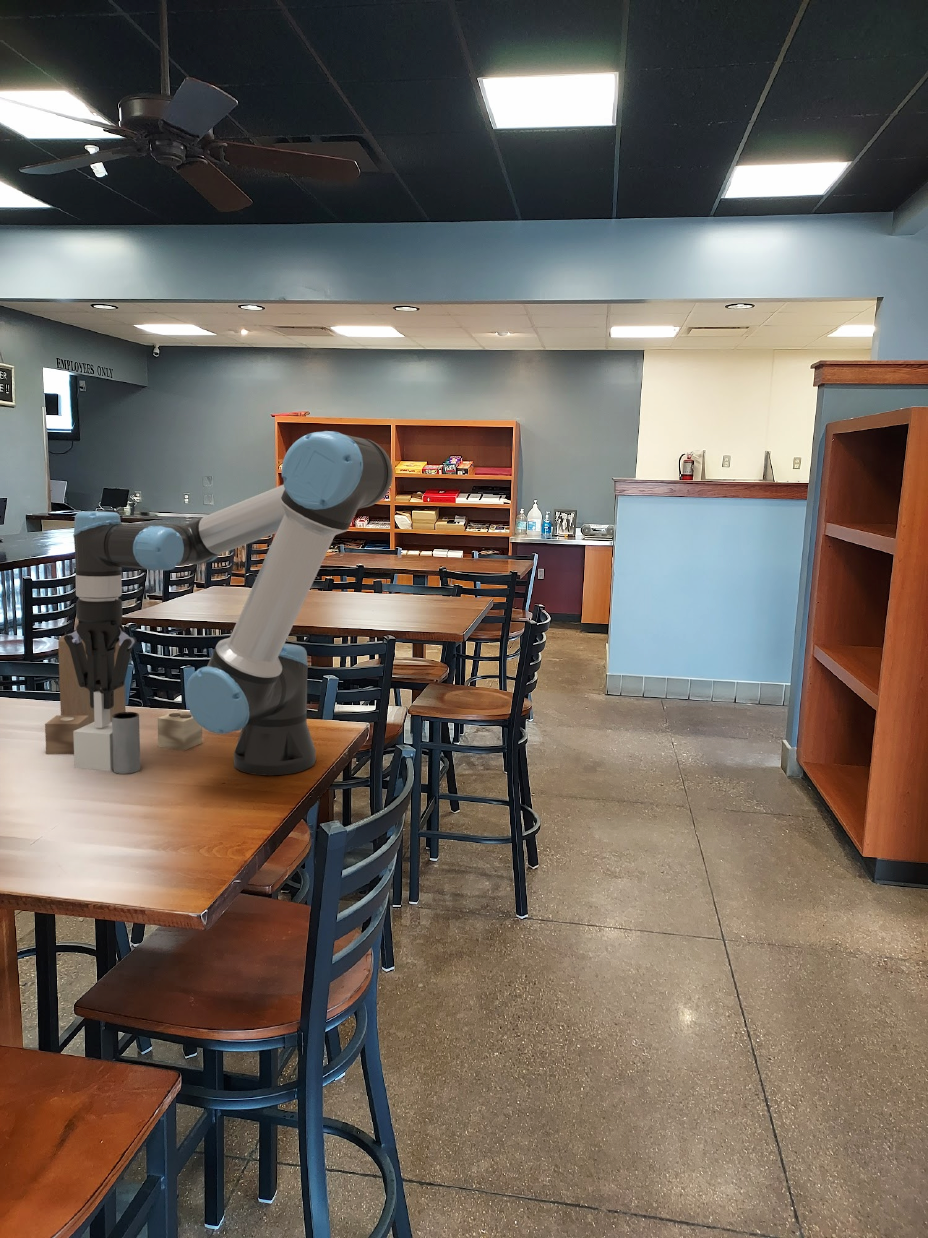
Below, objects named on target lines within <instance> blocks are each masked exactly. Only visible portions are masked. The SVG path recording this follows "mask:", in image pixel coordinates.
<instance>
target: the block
mask: <svg viewBox="0 0 928 1238" xmlns="http://www.w3.org/2000/svg"><path fill="white" fill-rule="evenodd" d="M72 633H73V632H70V633H68V634H65V635H62V636H59V638H58V640H57V644H58V672H59V673H58V674H59V675H58V676H59V699H60V715H70V716H89V724H90V723H93V722H94V708H91V706H90V691H89V690H88V689H87V688H85V687H80V686H79V683H78V679H77V676H76V672H75V668H74V664H73V660H72V656H71V652H70V648H69V647H68V645H67V643H66V642H65V640H64V636H66V635H69V634H72ZM119 642H120V639H119V641H118V642H117V644H116V651H115V653H114V666H115V663H116V659H117V654H118V650H119V648H120V646H119ZM82 643H83V646H84V649H85V643H84V642H83V640H82ZM85 653H86V652H85ZM86 657H87V654H86ZM100 689H101V688H100ZM121 712H127V711H126V682H125V683H124V686H122V687H120V688H118V689H115V690H114V706H113V707H112V708H110V722H112V715H114V714H116V713H121Z"/></svg>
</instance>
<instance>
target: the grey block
mask: <svg viewBox="0 0 928 1238" xmlns="http://www.w3.org/2000/svg"><path fill="white" fill-rule="evenodd" d="M73 736H74V754H73V760H74V761H73V762H74V769H81V770H89V771H91V770H92V771H103V772H113V742H112V722H110V724H109V725H107V726H105V727H103V728H100V727H95V723H94V722H93V723H90V724H88V725H86V726H84V727H82V728H79V729H77V730H75V731H73Z"/></svg>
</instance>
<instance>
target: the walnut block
mask: <svg viewBox="0 0 928 1238" xmlns="http://www.w3.org/2000/svg"><path fill="white" fill-rule="evenodd" d="M88 724H89V716H70V715H61V714H60V715H59V714H58V715H55V716H54V717H52V718H51V719H50V720H48V721H47V722H45V723H44V730H45V731H44V732H45V733H44V735H45V737H44V738H45V755H74V736H73V731H75V730H77V729H79V728H82V727H84V726H86V725H88Z"/></svg>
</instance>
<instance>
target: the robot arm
mask: <svg viewBox="0 0 928 1238" xmlns="http://www.w3.org/2000/svg"><path fill="white" fill-rule="evenodd" d="M393 475H394V470H393V465H392V462H391V459H390V457H389V455H388V454H387V452H386V451H385V450H384V449H383V448H382V446H381V445H379V443H376V442H375V441H373V440H371V439H369V438H365V437H358V436H351V435H347V434H343V433H341V432H339V431H328V430H324V431H316V432H315V431H314V432H311V433H307V434H306V435H303V436H301V437H300V438H299V439H297V440H295V442H293V443H292V445H291V446H290V447H289V448H288V450H287V452H285V455H284V457H283V461H282V466H281V478H282V479H283V483H282V484H281V485H278V486H277V487H276V486H275V487H274V488H271V489H269V490H267V491H264V492H262V493H259V494H256V495H254V496H252V497H249V498H247V499H245V500H244V499H243V500H242V501H240V502H237V503H235V504H232V505H229V506H227V507H225V508H222V509H220V510H217V511H214V512H212V513H210V514H207V515H204V516H203V517H200V518H198V519H195V520H192V521H190V522H187V523H185V524H159V525H157V524H156V525H139V524H137V525H135V524H134V525H133V524H131V525H130V524H122V522H121V516H120V513H118V512H113V511H94V510H93V511H92V510H91V511H86V510H85V511H79V512H77V513H76V514H75V516H74V529H73V536H72V537H73V539H74V542H73V543H74V556H75V557H74V558H75V559H74V561H75V596H76V597H78V599H77V601H76V605H75V606H76V608H75V609H76V619H77V621H78V623H77V625H76V627H75V631H73V632H71V633H72V634H71V633H68V634H69V635H68V634H65V635H66V636H65V635H63V636H64V640H65V642H66V643H67V645H68V647H69V648H70V652H71V656H72V660H73V664H74V668H75V672H76V676H77V679H78V683H79V686H80V687H85V688H87V689H88V690H89V691H90V706H91V708H94V723H95V727H100V728H103V727H105V726H107V725H109V724H110V708H112V707H113V706H114V690H115V689H118V688H120V687H122V686H124V683H125V684H126V677H127V672H128V668H129V663H130V658H131V655H132V650H133V648H134V647H135V645H136V643H137V640H138V639H137V638H136V636H132V637H131V636H130V635H128V634H127V633H126V632H125V628H124V626H123V624H122V620H123V600H122V599H121V598H119V597H121V596H122V593H123V592H122V589H123V587H122V586H123V585H122V582H123V581H122V568H130V569H141V570H149V571H152V572H156V571H170V570H174V569H175V568H176V567H177V566H185V565H187V566H188V565H203V564H207V563H210V562H212V561H215V560H216V559H217V558H218V557H219V556H220V555H221V554H224V553H227V552H230V551H231V550H234V549H235V550H236V549H237V548H240V547H242V546H245V545H248V544H251V543H253V542H255V541H258V540H259V541H260V540H261V539H264V538H267V537H269V536H272V535H274V534H275V535H274V538H273V540H272V542H271V544H270V547H269V549H268V550H267V553H266V555H265V558H264V560H263V562H262V565H261V567H260V568H259V571H258V574H257V576H256V578H255V580H254V583H253V585H252V587H251V589H250V592H249V594H248V597H247V598H246V600H245V603H244V606H243V607H242V610H241V612H240V614H239V616H238V619H237V620H236V623H235V625H234V628H233V629H232V632H231V633H230V634H231V635H230V636H229V637H228V638H224V639H221V640H219V641H218V642H217V644H216V646H215V648H214V650H213V652H212V654H211V656H210V659H209V661H208V663H207V666H202V667H200V668H198V669H197V670H196V671H195V672H193V673H192V674H191V675H190V677H189V678H188V680H187V682H186V685H185V690H184V692H185V693H184V695H185V696H184V697H185V703H186V706H187V707H188V708H189V713H191V715H192V717H193V718H194V719H195V721H196V722H197V723H198V724H199V725H201V726H202V729H205V730H206V731H208V732H211V733H213V734H221V735H223V734H229V733H232V732H237V731H240V733H239V737H238V739H237V742H236V745H235V749H234V753H233V766H234V767H235V769H237V770H239V771H240V772H243V773H247V774H250V775H251V774H252V775H257V776H282V775H283V776H285V775H290V774H295V773H300V772H303V771H306V770H308V769H310V768H312V767H313V766H314V765H315V764H316V753H317V751H316V748H315V744H314V741H313V739H312V736H311V732H310V729H309V726H308V722H307V721H308V720H307V716H308V715H307V711H308V710H307V709H308V708H307V707H308V668H309V664H308V654H307V650H306V648H305V647H303V646H301V645H297V644H293V643H286V642H287V639H288V637H289V634H290V633H291V631H292V629H293V626H294V624H295V623H296V622H295V621H296V620H297V618H298V616H299V613H300V611H301V610H302V607H303V604H304V602H305V600H306V598H307V596H308V594H309V592H310V590H311V587H312V586H313V584H314V581H315V579H316V577H317V575H318V572H319V571H320V568H321V567H322V563H323V562H324V560H325V558H326V555H327V553H328V551H329V549H330V547H331V545H332V543H333V539H334V538H335V536H336V535H339V534H343V533H345V532H348V530H349V529H350V526H351V524H352V522H353V520H354V518H355V516H356V514H357V512H358V510H359V509H364V508H368V507H371V506H373V505H375V504H378V503H379V502H381V500H383V499H384V497H385V496H386V495H387V494H388V492H389V490H390V488H391V485H392V482H393V478H394V476H393ZM119 639H120V642H119V646H120V648H119V650H118V654H117V659H116V663H115V666H114V653H115V651H116V644H117V642H118V641H119ZM82 640H83V642H84V643H85V649H84V646H83V643H82ZM85 652H86V653H85ZM86 654H87V657H86ZM100 688H101V689H100Z"/></svg>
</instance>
